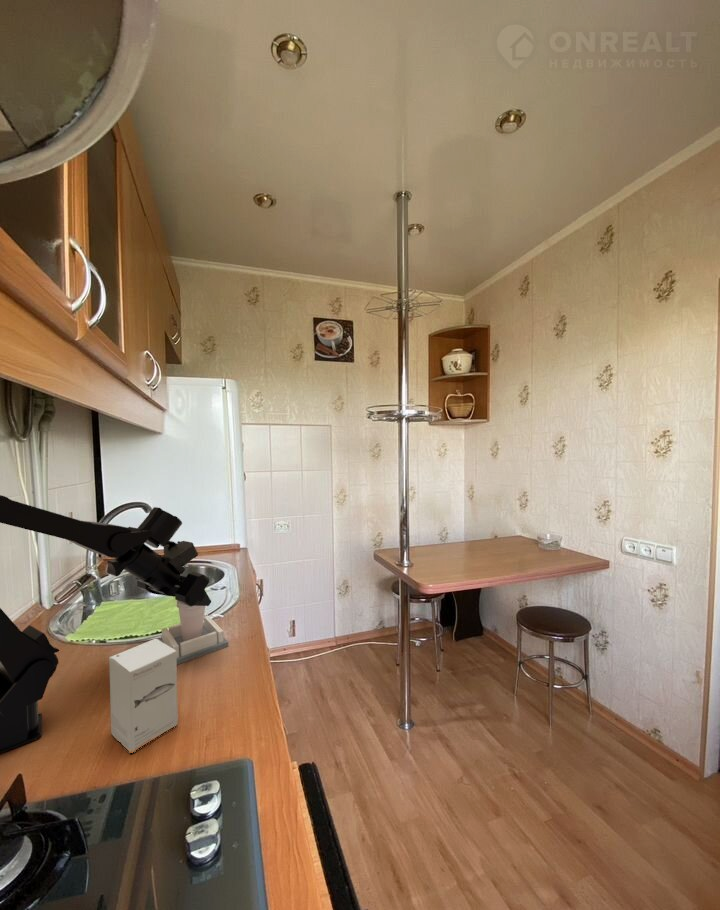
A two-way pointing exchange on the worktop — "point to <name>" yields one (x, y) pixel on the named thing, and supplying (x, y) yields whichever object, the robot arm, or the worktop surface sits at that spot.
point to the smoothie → (191, 620)
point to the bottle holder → (194, 641)
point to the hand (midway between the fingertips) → (196, 599)
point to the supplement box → (143, 693)
